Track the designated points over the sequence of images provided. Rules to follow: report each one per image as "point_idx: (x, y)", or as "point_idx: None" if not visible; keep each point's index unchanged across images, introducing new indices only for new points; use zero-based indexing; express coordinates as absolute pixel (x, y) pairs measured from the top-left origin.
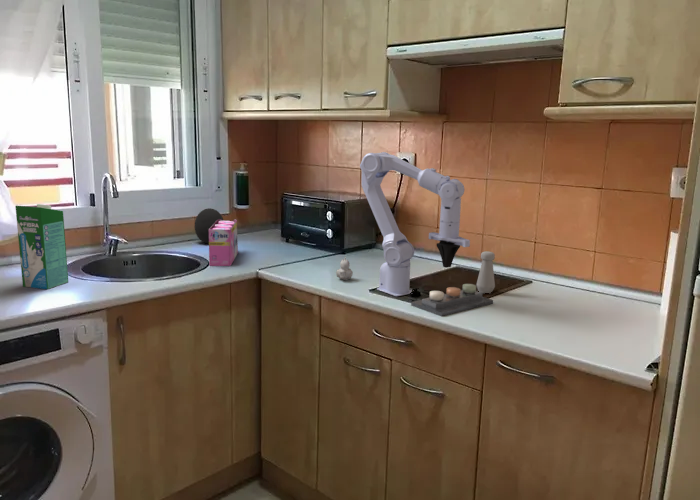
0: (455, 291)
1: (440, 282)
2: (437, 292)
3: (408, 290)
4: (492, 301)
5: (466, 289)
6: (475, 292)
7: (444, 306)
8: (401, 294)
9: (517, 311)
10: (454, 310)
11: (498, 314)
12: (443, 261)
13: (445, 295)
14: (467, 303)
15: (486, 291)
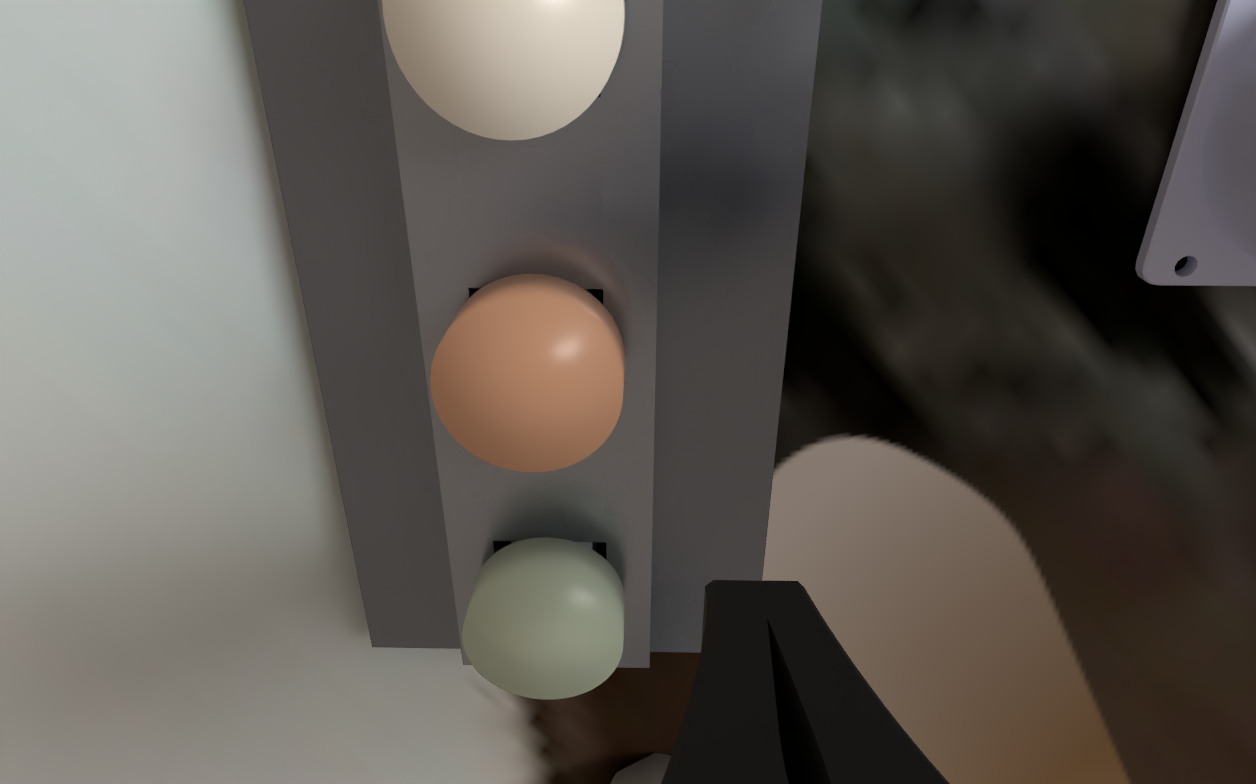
0: (441, 341)
1: (1130, 730)
2: (502, 32)
3: (1217, 193)
4: (374, 632)
5: (520, 560)
6: None
7: None
8: (1223, 13)
9: (109, 613)
10: (264, 70)
11: (81, 430)
12: (797, 653)
13: (603, 283)
14: (396, 388)
15: (621, 782)
